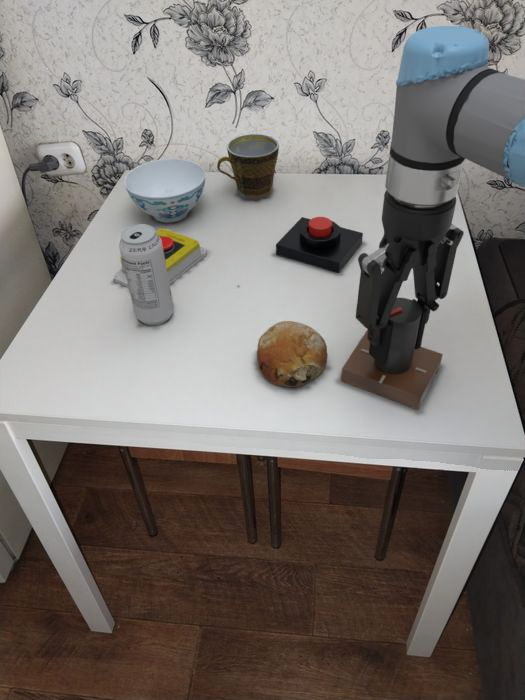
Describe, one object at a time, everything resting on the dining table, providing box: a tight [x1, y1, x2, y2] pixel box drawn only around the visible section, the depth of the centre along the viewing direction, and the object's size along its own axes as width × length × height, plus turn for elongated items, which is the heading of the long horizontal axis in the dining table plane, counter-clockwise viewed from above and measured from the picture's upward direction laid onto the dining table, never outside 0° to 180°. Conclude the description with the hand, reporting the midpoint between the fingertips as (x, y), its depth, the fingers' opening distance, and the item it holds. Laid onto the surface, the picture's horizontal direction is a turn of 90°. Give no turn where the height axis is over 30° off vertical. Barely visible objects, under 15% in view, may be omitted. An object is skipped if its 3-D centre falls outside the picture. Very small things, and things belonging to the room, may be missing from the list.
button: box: [308, 216, 333, 237], centre depth 101 cm, size 4×4×2 cm
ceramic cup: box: [216, 133, 280, 201], centre depth 115 cm, size 13×10×10 cm
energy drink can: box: [118, 223, 175, 326], centre depth 87 cm, size 6×6×15 cm
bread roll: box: [256, 320, 328, 388], centre depth 82 cm, size 10×10×8 cm
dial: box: [374, 297, 422, 374], centre depth 77 cm, size 5×5×9 cm
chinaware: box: [123, 158, 206, 223], centre depth 112 cm, size 15×15×8 cm
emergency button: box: [113, 228, 208, 289], centre depth 100 cm, size 9×4×15 cm
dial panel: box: [340, 329, 443, 411], centre depth 81 cm, size 11×9×3 cm
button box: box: [275, 216, 364, 274], centre depth 103 cm, size 12×10×4 cm
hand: (394, 350), depth 78 cm, fingers closed on dial, 5 cm apart
